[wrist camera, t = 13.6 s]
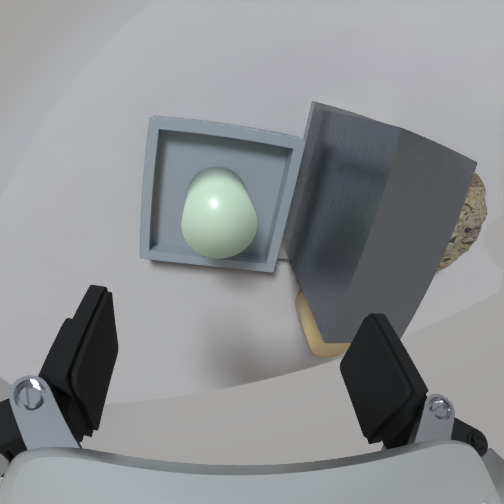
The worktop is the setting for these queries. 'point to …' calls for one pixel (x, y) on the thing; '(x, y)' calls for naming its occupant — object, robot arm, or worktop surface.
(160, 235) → the tray
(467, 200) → the rock
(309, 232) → the panel
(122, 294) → the worktop surface
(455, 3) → the worktop surface
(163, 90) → the worktop surface
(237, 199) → the mint green rounded cylinder
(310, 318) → the tan rounded capsule
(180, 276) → the worktop surface
